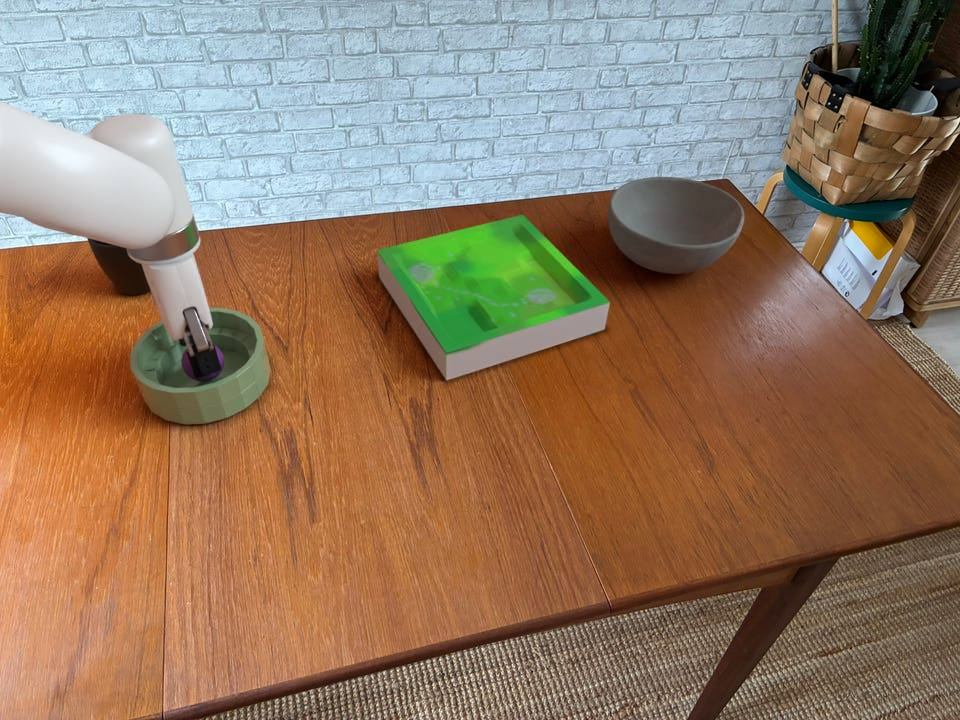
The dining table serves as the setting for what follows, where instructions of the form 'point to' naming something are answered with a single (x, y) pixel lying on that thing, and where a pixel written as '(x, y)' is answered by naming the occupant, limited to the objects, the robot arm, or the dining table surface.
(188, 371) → the ball
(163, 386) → the green bowl
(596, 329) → the tray
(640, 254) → the bowl
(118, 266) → the mug
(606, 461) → the dining table surface
